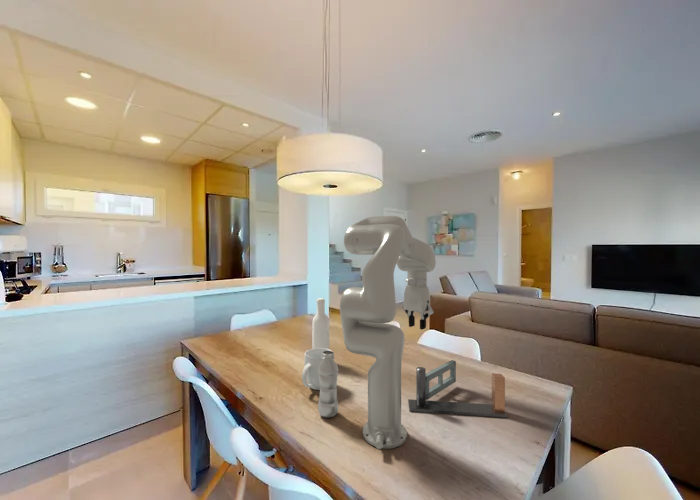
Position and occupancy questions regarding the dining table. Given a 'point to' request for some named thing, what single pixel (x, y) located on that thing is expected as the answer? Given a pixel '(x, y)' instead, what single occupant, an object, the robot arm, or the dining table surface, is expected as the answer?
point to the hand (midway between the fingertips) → (417, 327)
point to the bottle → (320, 327)
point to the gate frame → (458, 407)
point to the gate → (440, 378)
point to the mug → (312, 367)
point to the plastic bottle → (328, 385)
